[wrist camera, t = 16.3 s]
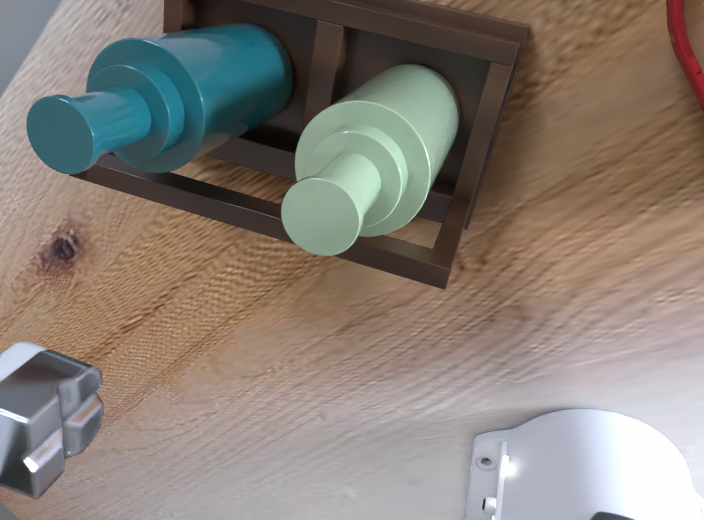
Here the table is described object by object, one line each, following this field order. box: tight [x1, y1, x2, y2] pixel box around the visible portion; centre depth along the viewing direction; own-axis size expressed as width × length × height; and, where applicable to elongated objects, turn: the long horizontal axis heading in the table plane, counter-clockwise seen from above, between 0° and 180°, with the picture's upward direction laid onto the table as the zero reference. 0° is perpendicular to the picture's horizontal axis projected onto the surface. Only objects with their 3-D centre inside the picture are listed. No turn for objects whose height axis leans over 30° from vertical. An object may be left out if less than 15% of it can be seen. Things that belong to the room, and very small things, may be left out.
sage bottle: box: [281, 64, 461, 256], centre depth 30 cm, size 6×6×18 cm
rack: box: [69, 0, 530, 289], centre depth 35 cm, size 13×22×13 cm, turn 79°
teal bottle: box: [27, 22, 293, 174], centre depth 32 cm, size 6×6×18 cm
